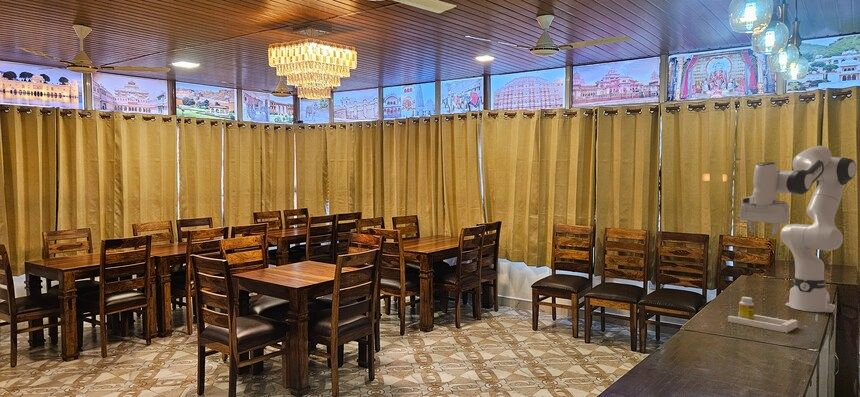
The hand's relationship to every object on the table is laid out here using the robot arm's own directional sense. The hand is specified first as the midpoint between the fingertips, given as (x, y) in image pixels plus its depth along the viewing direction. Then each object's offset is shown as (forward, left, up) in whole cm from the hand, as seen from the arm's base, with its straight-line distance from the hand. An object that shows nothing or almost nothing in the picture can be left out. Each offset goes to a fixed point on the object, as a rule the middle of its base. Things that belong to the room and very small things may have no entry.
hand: (762, 232), depth 238 cm
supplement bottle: (+8, -3, -38) cm, 39 cm away
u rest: (+8, +2, -38) cm, 38 cm away
